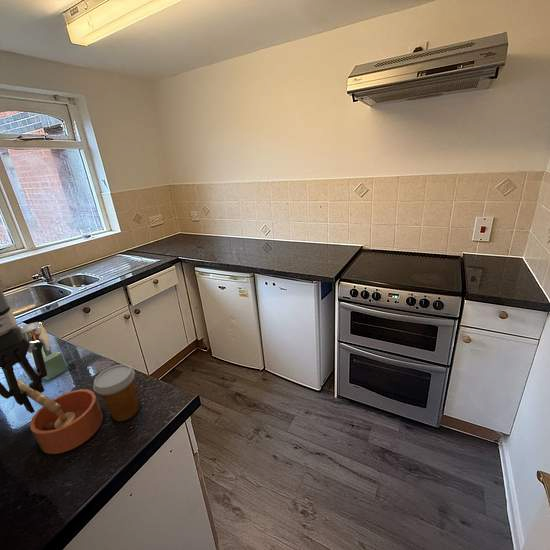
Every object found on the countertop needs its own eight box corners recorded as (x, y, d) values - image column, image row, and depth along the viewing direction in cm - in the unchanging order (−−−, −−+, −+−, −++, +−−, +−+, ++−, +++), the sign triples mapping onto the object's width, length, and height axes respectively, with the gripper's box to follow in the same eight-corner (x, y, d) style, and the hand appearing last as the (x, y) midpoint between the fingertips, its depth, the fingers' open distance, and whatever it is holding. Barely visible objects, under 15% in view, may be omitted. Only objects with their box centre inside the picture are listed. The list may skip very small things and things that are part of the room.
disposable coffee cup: (102, 411, 80) (88, 375, 76) (139, 393, 85) (127, 358, 81) (111, 433, 73) (95, 395, 69) (150, 411, 78) (138, 374, 74)
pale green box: (43, 378, 96) (35, 361, 94) (63, 366, 101) (56, 351, 98) (48, 380, 95) (40, 364, 92) (67, 369, 99) (61, 353, 97)
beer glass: (62, 360, 104) (46, 323, 99) (41, 373, 99) (23, 334, 93) (51, 356, 107) (35, 320, 102) (29, 368, 101) (11, 331, 96)
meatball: (54, 436, 74) (41, 436, 73) (59, 425, 76) (46, 425, 75) (53, 431, 72) (40, 431, 71) (58, 419, 74) (45, 419, 73)
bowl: (27, 459, 68) (16, 438, 66) (59, 412, 81) (50, 394, 79) (89, 448, 70) (80, 427, 67) (111, 404, 82) (104, 385, 80)
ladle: (19, 406, 83) (2, 385, 79) (36, 394, 86) (20, 373, 82) (66, 438, 71) (48, 416, 67) (83, 423, 75) (67, 400, 71)
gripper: (-39, 352, 63) (8, 434, 71) (41, 318, 75) (73, 392, 83) (-51, 345, 66) (-5, 423, 75) (27, 313, 78) (59, 384, 87)
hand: (36, 407), depth 79 cm, fingers closed on ladle, 2 cm apart
